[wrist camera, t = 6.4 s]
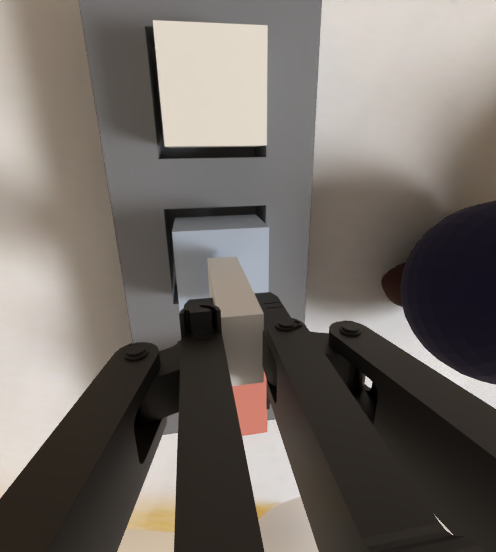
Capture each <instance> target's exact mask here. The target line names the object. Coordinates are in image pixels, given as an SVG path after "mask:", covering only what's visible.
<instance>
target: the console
mask: <svg viewBox="0 0 496 552" xmlns="http://www.w3.org/2000/svg"><path fill="white" fill-rule="evenodd" d="M79 5H80V12H81V18H82V24H83V31H84V37H85V43H86V49H87V56H88V62H89V68H90V75H91V81H92V87H93V94H94V100H95V106H96V113H97V119H98V125H99V132H100V138H101V144H102V151H103V157H104V163H105V170H106V176H107V182H108V189H109V195H110V201H111V208H112V214H113V220H114V227H115V233H116V239H117V245H118V252H119V258H120V264H121V271H122V277H123V283H124V290H125V296H126V302H127V309H128V315H129V321H130V328H131V334H132V340H133V343H136V342H148V343H152V344H154V345H156V346H157V347H158V349H159V351H161V350H165V349H167V348H170V347H172V346H174V345H176V344H177V343H179V342H180V341H181V330H180V320H179V313H180V311H179V301H178V290H177V280H176V269H175V259H174V249H173V238H172V229H173V225H174V220H175V218H181V217H205V216H228V215H251V214H256V215H257V216H258V217H259V218H260V219H261V220H262V221H263V222H264V223H265V224H266V225H267V226H268V227H269V292H271V293H273V294H274V295H276V296H278V298H279V299H280V301H281V303H282V304H283V305H284V307H285V309H286V310H287V312H288V313H289V315H290V317H291V318H295V319H297V320H300V321H301V322H303V323H305V304H306V286H307V267H308V249H309V230H310V211H311V193H312V174H313V155H314V137H315V118H316V99H317V81H318V62H319V44H320V25H321V6H322V0H79ZM153 20H161V21H184V22H206V23H228V24H251V25H268V43H267V145H266V146H256V147H191V148H168V147H165V145H164V134H163V124H162V113H161V103H160V92H159V82H158V71H157V61H156V50H155V40H154V29H153ZM178 418H179V412H178V413H175V414H172V415H170V416H167V424H166V427H165V429H164V432H163V435H166V434H173V433H178ZM274 419H275V416H274V413H273V410H272V406H271V403H270V409H267V420H274Z"/></svg>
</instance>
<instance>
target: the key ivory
mask: <svg viewBox="0 0 496 552" xmlns="http://www.w3.org/2000/svg"><path fill="white" fill-rule="evenodd" d="M153 29H154V40H155V50H156V61H157V71H158V82H159V92H160V103H161V113H162V124H163V134H164V145H165V147H168V148H191V147H256V146H266V145H267V43H268V25H251V24H228V23H206V22H184V21H161V20H153Z"/></svg>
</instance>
